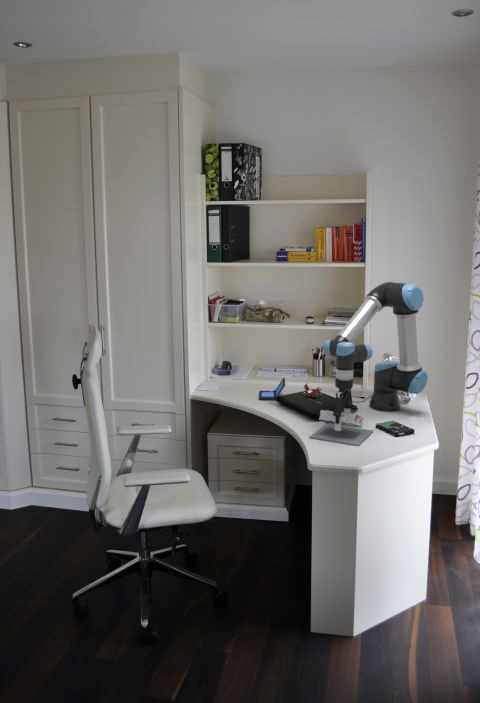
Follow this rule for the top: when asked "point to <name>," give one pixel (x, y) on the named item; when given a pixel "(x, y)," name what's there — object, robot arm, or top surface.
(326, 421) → the candy bar box
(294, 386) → the top surface
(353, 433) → the slate mat
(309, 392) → the figurine
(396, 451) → the top surface
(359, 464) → the top surface
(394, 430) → the disk drive
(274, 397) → the handheld game console
